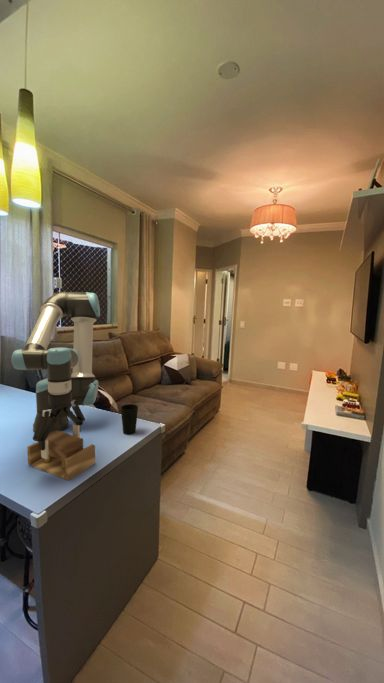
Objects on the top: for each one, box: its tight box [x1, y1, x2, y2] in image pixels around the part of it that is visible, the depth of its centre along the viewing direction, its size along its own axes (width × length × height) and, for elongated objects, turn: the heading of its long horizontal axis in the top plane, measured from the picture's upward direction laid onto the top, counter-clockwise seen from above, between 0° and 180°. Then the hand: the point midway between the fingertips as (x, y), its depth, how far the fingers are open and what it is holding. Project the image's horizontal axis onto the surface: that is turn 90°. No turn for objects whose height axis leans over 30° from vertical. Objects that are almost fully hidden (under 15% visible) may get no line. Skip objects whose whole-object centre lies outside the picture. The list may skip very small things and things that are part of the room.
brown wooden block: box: [40, 430, 84, 462], centre depth 102 cm, size 14×7×6 cm, turn 62°
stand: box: [26, 441, 96, 481], centre depth 103 cm, size 20×12×7 cm, turn 65°
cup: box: [120, 403, 139, 436], centre depth 130 cm, size 8×8×12 cm
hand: (61, 449), depth 102 cm, fingers open, 13 cm apart
